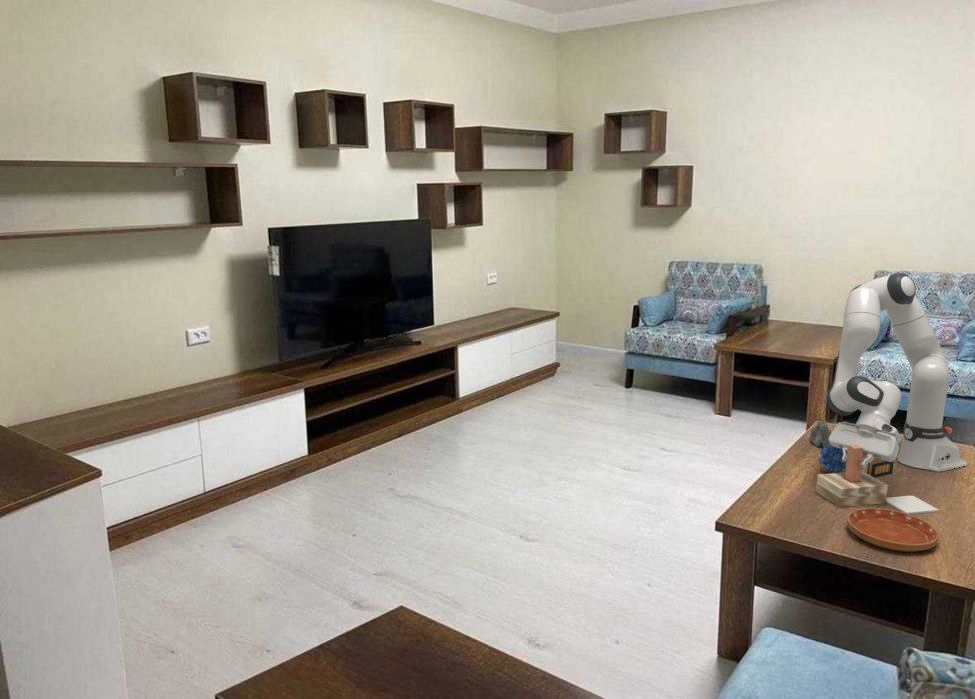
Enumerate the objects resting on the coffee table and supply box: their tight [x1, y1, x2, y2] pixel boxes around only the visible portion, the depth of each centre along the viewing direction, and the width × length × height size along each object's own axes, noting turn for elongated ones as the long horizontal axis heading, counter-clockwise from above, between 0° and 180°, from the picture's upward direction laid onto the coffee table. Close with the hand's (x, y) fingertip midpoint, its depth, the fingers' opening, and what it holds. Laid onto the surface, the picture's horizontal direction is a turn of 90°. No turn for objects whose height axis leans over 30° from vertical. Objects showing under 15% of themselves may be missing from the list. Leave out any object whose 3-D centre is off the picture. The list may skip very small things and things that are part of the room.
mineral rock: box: [810, 418, 833, 449], centre depth 290 cm, size 13×11×10 cm
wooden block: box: [845, 445, 863, 483], centre depth 238 cm, size 3×3×14 cm
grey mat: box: [885, 495, 940, 515], centre depth 234 cm, size 11×11×1 cm
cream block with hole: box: [815, 470, 889, 508], centre depth 240 cm, size 17×12×6 cm
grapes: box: [818, 443, 848, 473], centre depth 260 cm, size 12×7×12 cm, turn 63°
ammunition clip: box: [866, 458, 895, 479], centre depth 258 cm, size 11×2×12 cm, turn 116°
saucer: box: [846, 507, 940, 553], centre depth 214 cm, size 23×23×4 cm
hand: (853, 463), depth 238 cm, fingers closed on wooden block, 4 cm apart
